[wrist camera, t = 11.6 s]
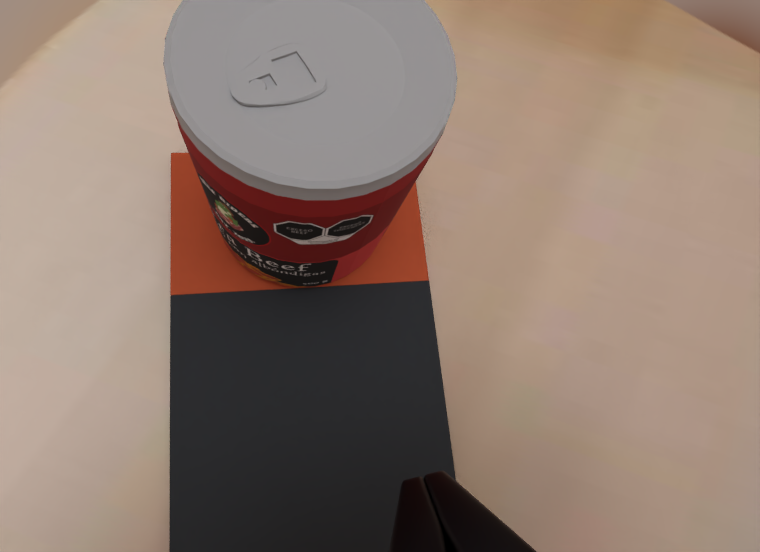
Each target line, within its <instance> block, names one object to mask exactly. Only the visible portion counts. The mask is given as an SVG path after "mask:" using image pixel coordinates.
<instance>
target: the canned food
mask: <svg viewBox="0 0 760 552" xmlns="http://www.w3.org/2000/svg"><path fill="white" fill-rule="evenodd" d="M163 64H164V69H165V74H166V81H167V86H168V92H169V97H170V102H171V106H172V108H173V111H174V113H175V116H176V119H177V121H178V126H179V129H180V132H181V134H182V137H183V139H184V142H185V144H186V147H187V149H188V152H189V154H190V157H191V160H192V162H193V165H194V167H195V170H196V172H197V175H198V177H199V180H200V183H201V185H202V188H203V190H204V193H205V195H206V198H207V200H208V203H209V205H210V208H211V211H212V213H213V216H214V218H215V221H216V223H217V226H218V228H219V231H220V233H221V236H222V238H223V240H224V242H225V244H226V247H227V248H228V249H229V251H230V252H231V253H232V255H233V256H234V257H235V259H236V260H237V261H238V262H239V263H240V264H242V265H243V266H244V267H245V268H246V269H247V270H248V271H250V272H252V273H253V274H255V275H257V276H259V277H260V278H262V279H264V280H267V281H270V282H273V283H276V284H279V285H285V286H292V287H313V286H319V285H323V284H327V283H331V282H334V281H336V280H338V279H340V278H343V277H345V276H347V275H348V274H350V273H351V272H353V271H354V270H356V269H357V268H359V267H360V266H361V265H362V264H363V263H364V262H365V261H366V260H367V259H368V258H369V257H370V256H371V254H372V253H373V251H374V250H375V248H376V246H377V245H378V243H379V242H380V240H381V238H382V237H383V235H384V233H385V232H386V230H387V228H388V227H389V225H390V223H391V221H392V220H393V218H394V216H395V215H396V213H397V211H398V210H399V208H400V206H401V205H402V203H403V201H404V200H405V198H406V196H407V195H408V193H409V191H410V190H411V188H412V186H413V185H414V183H415V181H416V180H417V178H418V176H419V175H420V173H421V171H422V170H423V168H424V166H425V164H426V163H427V161H428V159H429V158H430V156H431V154H432V152H433V150H434V148H435V146H436V144H437V143H438V141H439V139H440V138H441V136H442V134H443V132H444V129H445V126H446V123H447V121H448V118H449V115H450V112H451V109H452V106H453V104H454V101H455V93H456V84H457V72H456V63H455V55H454V52H453V49H452V47H451V44H450V41H449V38H448V35H447V33H446V31H445V29H444V28H443V26H442V24H441V22H440V21H439V19H438V17H437V15H436V14H435V13H434V11H433V10H432V9H431V8H430V7H429V5H428V4H427V3H426V2H425V1H424V0H183V1H182V2H181V4H180V5H179V7H178V8H177V10H176V12H175V13H174V15H173V17H172V20H171V23H170V26H169V29H168V32H167V35H166V38H165V49H164V63H163Z"/></svg>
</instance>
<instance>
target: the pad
mask: <svg viewBox="0 0 760 552" xmlns="http://www.w3.org/2000/svg"><path fill="white" fill-rule="evenodd" d="M412 281H429V278H428V271H427V263H426V256H425V248H424V241H423V234H422V226H421V219H420V211H419V204H418V196H417V189H416V182H415V183H414V185H413V186H412V188H411V190H410V191H409V193H408V195H407V196H406V198H405V200H404V201H403V203H402V205H401V206H400V208H399V210H398V211H397V213H396V215H395V216H394V218H393V220H392V221H391V223H390V225H389V227H388V228H387V230H386V232H385V233H384V235H383V237H382V238H381V240H380V242H379V243H378V245H377V246H376V248H375V250H374V251H373V253H372V254H371V256H370V257H369V258H368V259H367V260H366V261H365V262H364V263H363V264H362V265H361V266H360V267H359V268H357V269H356V270H354V271H353V272H351V273H350V274H348V275H347V276H345V277H343V278H340V279H338V280H336V281H334V282H331V283H327V284H323V285H319V286H313V287H324V286H342V285H359V284H377V283H394V282H412ZM289 288H307V287H292V286H285V285H279V284H276V283H273V282H270V281H267V280H264V279H262V278H260V277H259V276H257V275H255V274H253V273H252V272H250V271H248V270H247V269H246V268H245V267H244V266H243V265H242V264H240V263H239V262H238V261H237V260H236V259H235V257H234V256H233V255H232V253H231V252H230V251H229V249H228V248H227V247H226V244H225V242H224V240H223V238H222V236H221V233H220V231H219V228H218V226H217V223H216V221H215V218H214V216H213V213H212V211H211V208H210V205H209V203H208V200H207V198H206V195H205V193H204V190H203V188H202V185H201V183H200V180H199V177H198V175H197V172H196V170H195V167H194V165H193V162H192V160H191V157H190V154H189V153H171V295H184V294H202V293H219V292H237V291H254V290H272V289H289Z"/></svg>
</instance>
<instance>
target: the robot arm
mask: <svg viewBox="0 0 760 552" xmlns="http://www.w3.org/2000/svg"><path fill="white" fill-rule="evenodd" d="M389 552H536V551H535V550H534V549H533V548H532V547H531V546H530V545H528V544H527V543H526V542H525V541H524V540H523V539H522V538H520V537H519V536H518V535H517V534H516V533H515V532H514V531H512V530H511V529H510V528H509V527H508V526H507V525H506V524H504V523H503V522H502V521H501V520H500V519H499V518H498V517H496V516H495V515H494V514H493V513H492V512H491V511H490V510H488V509H487V508H486V507H485V506H484V505H483V504H482V503H480V502H479V501H478V500H477V499H476V498H475V497H474V496H472V495H471V494H470V493H469V492H468V491H467V490H466V489H464V488H463V487H462V486H461V485H460V484H459V483H457V482H456V481H455V480H454V479H453V478H452V477H451V476H449V475H448V474H447V473H446V472H444V471H438V472H434V473H430V474H427V475H425V476H424V479H423V478H422V477H421V476H419V477H415V478H411V479H407V480H404V481H403V482H402V484H401V489H400V494H399V500H398V505H397V511H396V516H395V522H394V527H393V533H392V538H391V543H390V549H389Z"/></svg>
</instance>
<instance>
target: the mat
mask: <svg viewBox="0 0 760 552" xmlns="http://www.w3.org/2000/svg"><path fill="white" fill-rule="evenodd" d="M438 471H444V472H446V473H447V474H448V475H449V476H451V477H452V478H453V479H454V480H455V481H456V478H455V471H454V464H453V456H452V449H451V441H450V434H449V426H448V419H447V412H446V404H445V397H444V389H443V382H442V374H441V367H440V360H439V352H438V345H437V337H436V330H435V322H434V315H433V308H432V300H431V293H430V285H429V281H412V282H394V283H377V284H359V285H342V286H324V287H307V288H289V289H272V290H254V291H237V292H219V293H202V294H184V295H171V323H170V552H389V549H390V543H391V538H392V533H393V527H394V522H395V516H396V511H397V505H398V500H399V494H400V489H401V484H402V482H403V481H404V480H407V479H411V478H415V477H419V476H421V477H422V478H423V479H424V476H425V475H427V474H430V473H434V472H438Z"/></svg>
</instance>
